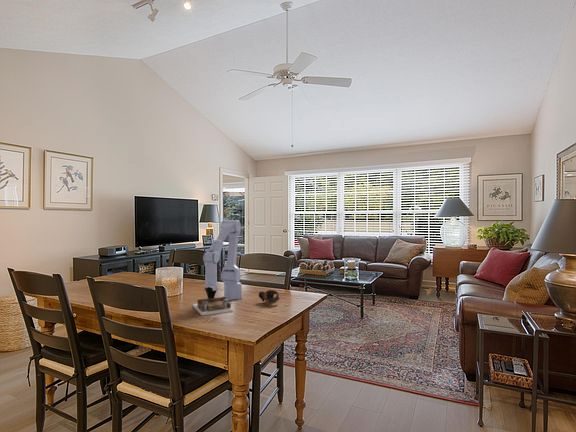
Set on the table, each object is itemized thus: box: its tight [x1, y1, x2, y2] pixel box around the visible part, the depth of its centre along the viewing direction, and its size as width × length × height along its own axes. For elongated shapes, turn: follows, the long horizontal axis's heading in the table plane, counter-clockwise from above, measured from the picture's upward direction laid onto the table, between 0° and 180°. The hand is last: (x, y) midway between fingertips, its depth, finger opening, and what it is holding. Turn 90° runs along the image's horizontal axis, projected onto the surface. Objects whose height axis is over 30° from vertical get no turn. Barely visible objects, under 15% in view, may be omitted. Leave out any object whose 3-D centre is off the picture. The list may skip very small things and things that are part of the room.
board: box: [192, 299, 234, 316], centre depth 168 cm, size 15×18×5 cm
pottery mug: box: [258, 289, 280, 307], centre depth 179 cm, size 12×10×8 cm
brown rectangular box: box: [197, 296, 232, 311], centre depth 165 cm, size 14×9×4 cm, turn 119°
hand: (210, 302), depth 170 cm, fingers closed
